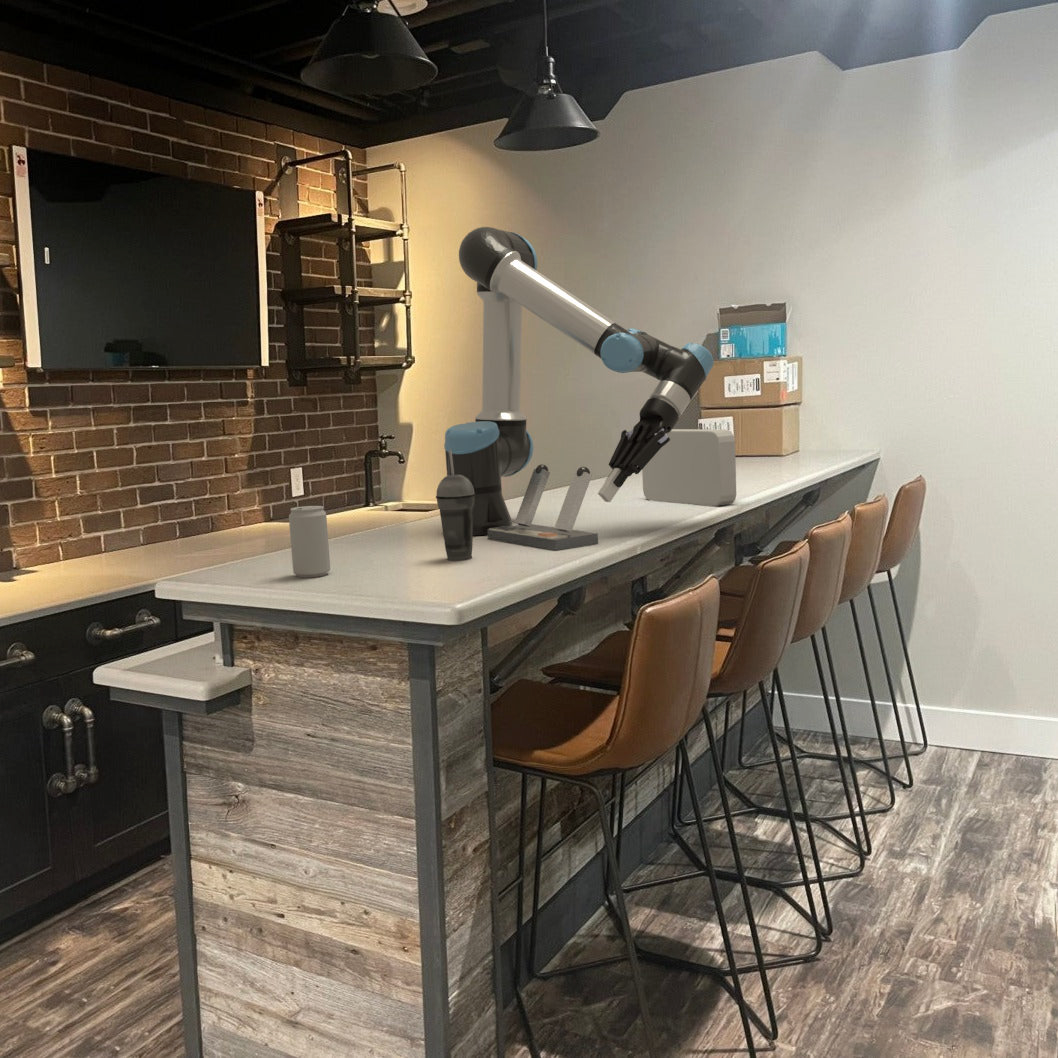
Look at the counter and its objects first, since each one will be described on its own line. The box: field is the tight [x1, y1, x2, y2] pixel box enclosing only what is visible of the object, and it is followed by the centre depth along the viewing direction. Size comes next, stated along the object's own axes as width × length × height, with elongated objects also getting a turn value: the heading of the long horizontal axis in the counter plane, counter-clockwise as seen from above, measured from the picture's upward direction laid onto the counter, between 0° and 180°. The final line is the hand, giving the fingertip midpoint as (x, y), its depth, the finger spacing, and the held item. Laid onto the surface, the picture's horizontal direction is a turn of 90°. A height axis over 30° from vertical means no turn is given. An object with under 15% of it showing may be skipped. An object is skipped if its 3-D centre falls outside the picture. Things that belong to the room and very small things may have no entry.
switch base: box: [487, 523, 599, 552], centre depth 206 cm, size 10×24×3 cm, turn 34°
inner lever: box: [514, 463, 551, 527], centre depth 212 cm, size 3×4×13 cm
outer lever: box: [554, 466, 593, 533], centre depth 201 cm, size 3×4×13 cm
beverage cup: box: [435, 450, 475, 562], centre depth 189 cm, size 7×7×20 cm
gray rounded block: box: [641, 428, 737, 507], centre depth 257 cm, size 29×8×18 cm, turn 33°
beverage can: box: [288, 505, 331, 579], centre depth 180 cm, size 6×6×12 cm
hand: (603, 497), depth 205 cm, fingers closed
